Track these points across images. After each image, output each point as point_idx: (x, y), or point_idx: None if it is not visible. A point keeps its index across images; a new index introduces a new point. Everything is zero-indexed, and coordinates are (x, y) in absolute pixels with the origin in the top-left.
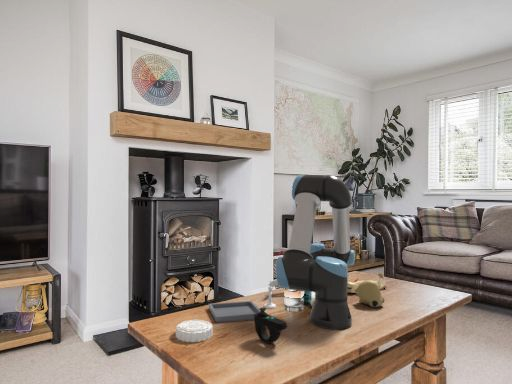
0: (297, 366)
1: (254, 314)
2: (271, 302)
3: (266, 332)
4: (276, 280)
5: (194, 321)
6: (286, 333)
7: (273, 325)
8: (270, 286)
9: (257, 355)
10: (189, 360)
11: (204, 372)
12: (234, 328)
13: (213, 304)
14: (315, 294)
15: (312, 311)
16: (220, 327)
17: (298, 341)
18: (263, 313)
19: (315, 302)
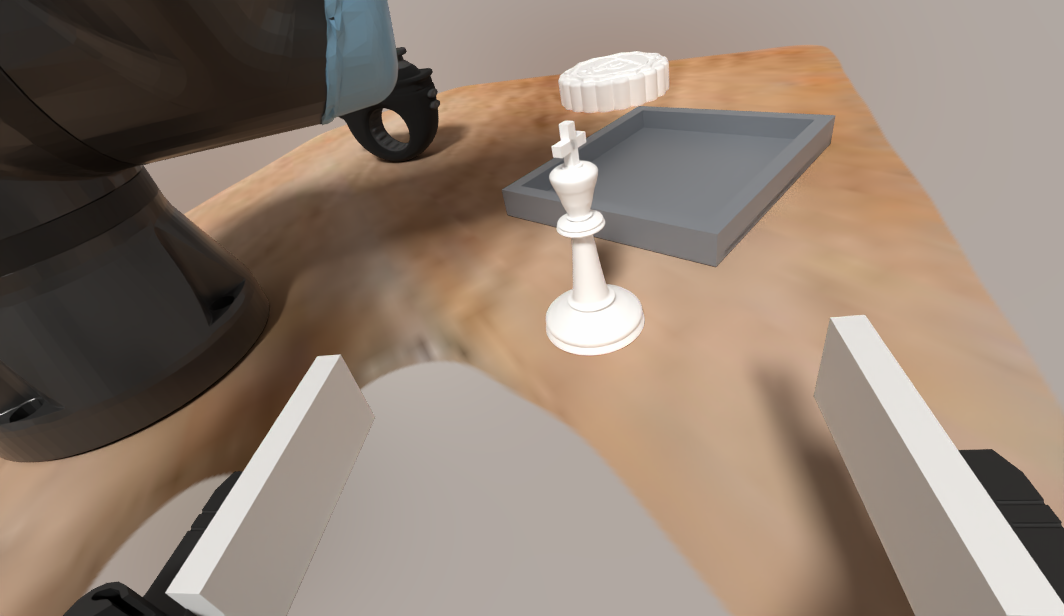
0: (306, 151)
1: (429, 68)
2: (572, 290)
3: (409, 141)
4: (921, 489)
5: (635, 65)
6: (363, 201)
7: None
8: (568, 160)
9: (404, 132)
10: (521, 83)
11: (469, 88)
12: (549, 143)
13: (810, 124)
14: (142, 165)
15: (225, 250)
16: (595, 127)
17: (314, 195)
18: None
19: (175, 208)
